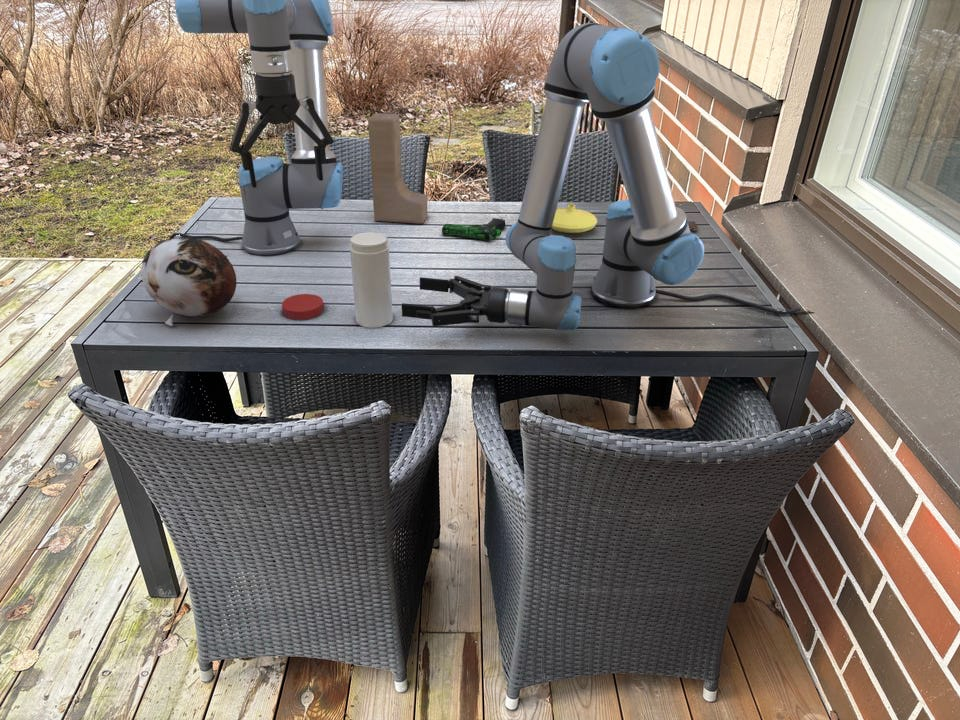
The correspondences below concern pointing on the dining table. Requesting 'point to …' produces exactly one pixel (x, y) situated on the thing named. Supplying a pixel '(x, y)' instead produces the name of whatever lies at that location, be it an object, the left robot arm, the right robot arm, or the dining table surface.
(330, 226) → the dining table surface
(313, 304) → the lid
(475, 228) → the handgun
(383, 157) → the decorative block
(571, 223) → the yellow flat disc
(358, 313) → the jar
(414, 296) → the dining table surface
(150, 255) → the plush toy
